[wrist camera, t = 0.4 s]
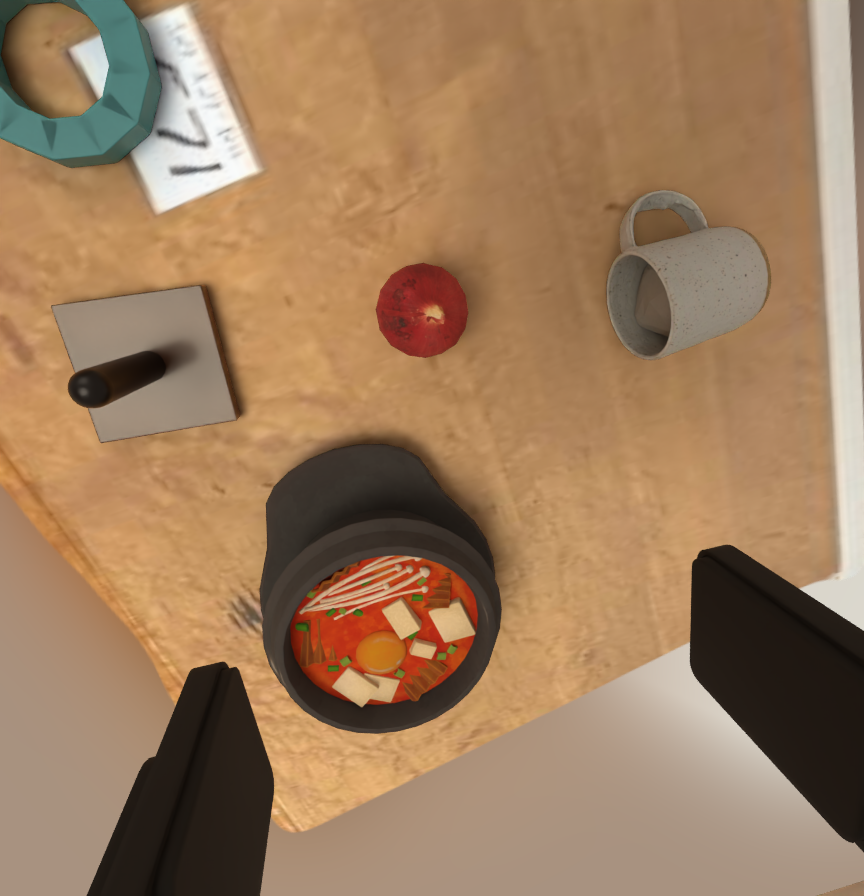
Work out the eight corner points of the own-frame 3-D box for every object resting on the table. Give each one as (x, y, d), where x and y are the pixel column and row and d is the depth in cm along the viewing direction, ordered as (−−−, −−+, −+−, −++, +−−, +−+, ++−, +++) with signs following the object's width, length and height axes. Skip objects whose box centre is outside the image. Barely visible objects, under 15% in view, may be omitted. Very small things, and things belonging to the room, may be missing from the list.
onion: (383, 358, 37) (393, 375, 29) (365, 275, 35) (371, 271, 27) (460, 341, 37) (490, 354, 30) (447, 259, 35) (475, 250, 28)
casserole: (210, 478, 37) (174, 529, 29) (451, 406, 38) (480, 436, 31) (319, 727, 45) (314, 819, 37) (514, 660, 47) (550, 735, 39)
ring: (-72, -36, 27) (-104, -61, 25) (127, -48, 28) (111, -73, 26) (4, 175, 30) (-19, 167, 28) (180, 156, 31) (170, 147, 29)
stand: (60, 305, 32) (-60, 310, 23) (205, 285, 33) (150, 282, 24) (107, 438, 35) (19, 494, 25) (240, 416, 36) (203, 461, 26)
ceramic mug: (709, 322, 40) (790, 327, 33) (614, 355, 39) (676, 368, 32) (691, 179, 37) (777, 149, 29) (587, 213, 36) (649, 191, 29)
